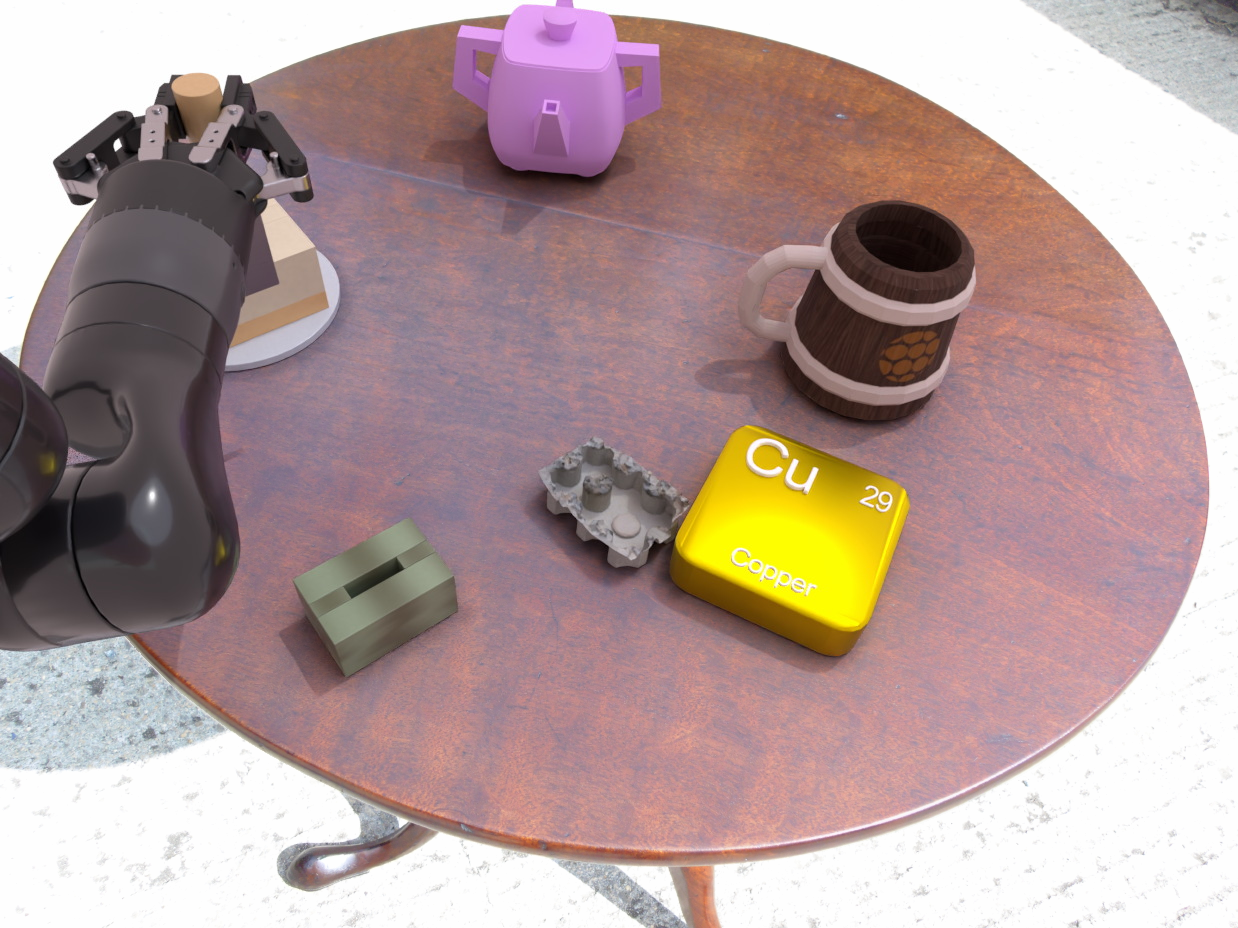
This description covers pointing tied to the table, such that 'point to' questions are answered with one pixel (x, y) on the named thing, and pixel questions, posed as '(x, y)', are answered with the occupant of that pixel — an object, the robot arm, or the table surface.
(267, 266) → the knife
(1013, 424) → the table surface
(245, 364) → the plate
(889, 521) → the element tile
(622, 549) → the egg carton
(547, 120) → the teapot
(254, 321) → the wooden slotted box
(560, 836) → the table surface
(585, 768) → the table surface
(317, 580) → the knife block
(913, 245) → the mug
